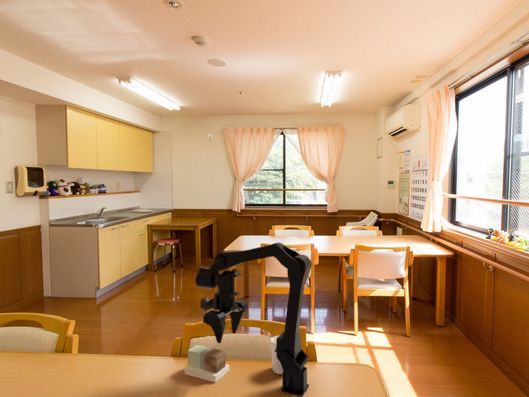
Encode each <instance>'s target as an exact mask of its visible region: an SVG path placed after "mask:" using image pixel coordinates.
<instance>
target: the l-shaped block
mask: <svg viewBox="0 0 529 397" xmlns="http://www.w3.org/2000/svg"><path fill="white" fill-rule="evenodd" d="M208 351H210V347H209V346H205V345H200V344H196V345H194V346H193V347H191V348H189V349H188V350H187V366H185V367H184V375H188V376H191V377H194V378H199V379H201V380H204V381H208V382H212V383H215V384H216V383H217V382H218V381H219V380H221V379H222V378H223V377H224V376H225V375H227V374H228V373H229V372H230V364H228V363H226V367H224V368H223V369H222V370H221V371H219V372H218V373H213V372H210V371H206V370H204V354H205V353H207V352H208ZM228 371H229V372H228ZM227 372H228V373H227ZM224 374H225V375H224Z"/></svg>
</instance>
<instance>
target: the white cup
mask: <svg viewBox="0 0 529 397" xmlns="http://www.w3.org/2000/svg"><path fill="white" fill-rule="evenodd" d="M278 337H279V335H275V336H272V337H271V339H270V348H271V349H270V353H271V365H272V366H271V367H272V372H273V371H274V372H273V373H275V374H276V373H277V375H279V374H281V376H282V372H283V369H282V366H281V363H280V362H279V360H278V359H277V355H276V354H277V352H275V350H276V340H277V338H278Z"/></svg>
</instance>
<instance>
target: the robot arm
mask: <svg viewBox="0 0 529 397" xmlns="http://www.w3.org/2000/svg"><path fill="white" fill-rule="evenodd" d="M272 257H273V258H275V259H276V260H277V261H278V262H279V263H280V265H281V266H283V267H284V268H285V269H286V270H287V279H288V283H289V289H288V299H287V306H286V312H285V313H286V314H285V322H284V330H283V331H282V332H281V333H280V335H278V336H279V337H278V338H277V340H276V350H275V352H277V354H276V355H277V359H278V360H279V362H280V363H281V366H282V369H283V372H282V375H281V376H282V377H281V378H282V379H281V380H282V381H281V382H282V384H281V385H282V388H281V391H282V392H283V393H286V394H291V395H293V396H298V397H304V395H305V393H306V391H307V390H308V388H309V387H310V384H309V383H308V367H307V366H306V364H307V363H308V361H309V355H308V354H307V353H305V351H304V350H303V349H302V340H301V335H300V324H301V316H302V307H303V300H304V299H303V298H304V293H305V291H304V290H305V286H306V283H307V281H308V279H309V276H310V273H311V268H312V265H313V264H312V260H311V259H310V257H309V256H307V255H305V254H300V253H299V252H297V251H296V250H294V249H291V248H290V247H288V246H286V245H285V244H283V242H274V243H272V244H269V245H268V244H267V245H264V246H259V247H255V248H249V249H244V250H241V249H240V250H239V249H235V250H233V249H232V250H226V251H221V252H220V251H219V252H218V253H216V254H215V256H214V261H213V262H212V264H211V266H210V267H207V266H201V267H199V268H198V272H197V273H196V277H195V285H196V287H197V288H200V289H201V288H203V289H216V287H217V292H215V293H214V295H213V296H214V297H211V298H208V297H205V298H202V299H200V304H199V305H200V306H199V307H200V308H201V309H202V310H203V311H204V312H206V311H207V312H206V313H204V314H203V315H202V323H203V324H206V326H207V325H208V326H210V327H211V330H212V331H213V334H214V337H215V339H216V343H217V344H221V343H222V340H223V337H224V333H225V330H226V325H227V322H225V321H226V319H227V315H229V316H230V324H231V325H230V326H231V332H232V334H236V333H237V331H238V328H239V326H240V323H241V322H242V320H243V317H244V315H245V313H246V312H247V310H248V308H249V307H248V302H247V301H246V300H245V299H244V300H243V299H236V296H238V295H239V294H238V293H239V292H238V291H236V278H237V277H240V276H241V275H242V273H241V272H240V271H238V269H237V268H234V267H237V266H239V265H241V264H243V263H247V262H252V261H256V260H261V259H262V260H263V259H266V258H272ZM230 268H233V269H232V270H228V269H230ZM221 271H222V272H221ZM210 309H211V310H210ZM212 309H213V310H212ZM208 310H210V311H208Z"/></svg>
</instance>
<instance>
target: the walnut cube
mask: <svg viewBox="0 0 529 397" xmlns="http://www.w3.org/2000/svg"><path fill="white" fill-rule="evenodd" d="M226 352H227V351H226V350H222V349H217V348H211V349H209V351H208V352H207V353H205V354H204V370H206V371H210V372H213V373H218V372H219V371H221V370H222V369H223V368H224V367H226V364H227V362H226V359H227V358H226V357H227V356H226Z"/></svg>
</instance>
